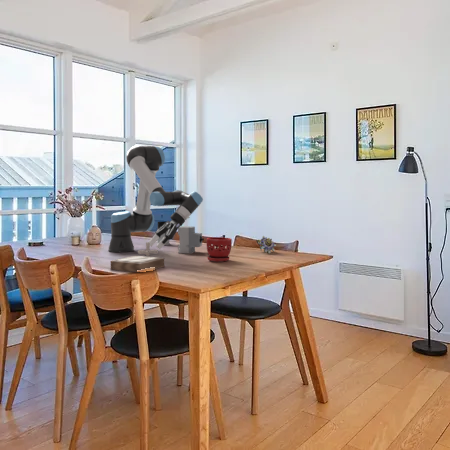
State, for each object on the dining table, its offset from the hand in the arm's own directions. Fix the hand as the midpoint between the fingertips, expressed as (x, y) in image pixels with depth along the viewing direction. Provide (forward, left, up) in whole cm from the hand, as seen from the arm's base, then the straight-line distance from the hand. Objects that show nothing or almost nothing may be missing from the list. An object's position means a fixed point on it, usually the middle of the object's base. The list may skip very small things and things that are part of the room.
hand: (153, 246), depth 243 cm
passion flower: (+39, +56, -8) cm, 69 cm away
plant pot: (+29, +18, -8) cm, 35 cm away
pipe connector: (-2, -2, -8) cm, 9 cm away
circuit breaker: (0, +37, -8) cm, 38 cm away
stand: (+5, -19, -8) cm, 21 cm away
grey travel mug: (-35, +61, -8) cm, 71 cm away
